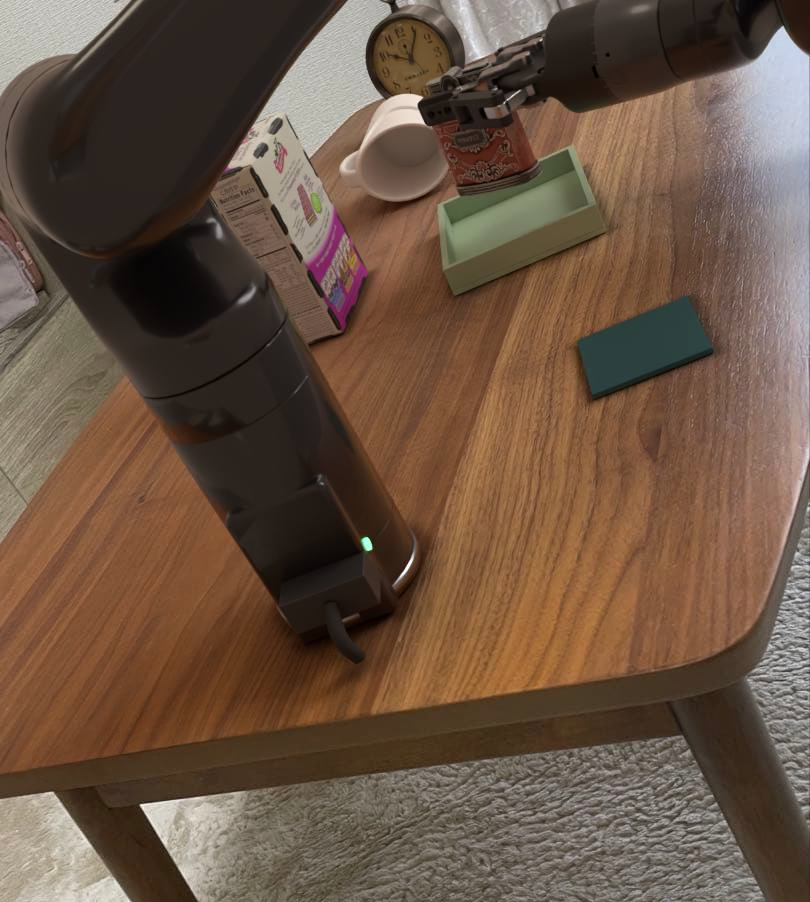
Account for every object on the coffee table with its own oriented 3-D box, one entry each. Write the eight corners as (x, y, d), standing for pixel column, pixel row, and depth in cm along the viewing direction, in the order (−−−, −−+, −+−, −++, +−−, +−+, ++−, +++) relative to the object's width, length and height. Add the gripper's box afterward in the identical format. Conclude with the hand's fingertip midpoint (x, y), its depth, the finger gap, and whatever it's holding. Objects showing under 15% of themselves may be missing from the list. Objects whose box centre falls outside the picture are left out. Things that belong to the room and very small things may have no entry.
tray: (606, 231, 99) (596, 203, 98) (454, 296, 102) (442, 270, 101) (582, 169, 111) (572, 144, 110) (447, 228, 114) (436, 204, 113)
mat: (714, 352, 78) (712, 347, 78) (593, 399, 80) (591, 394, 80) (688, 300, 85) (687, 295, 84) (578, 344, 86) (576, 340, 86)
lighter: (452, 201, 106) (403, 90, 100) (470, 181, 108) (423, 72, 102) (532, 184, 101) (485, 67, 95) (549, 164, 102) (504, 48, 97)
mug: (464, 148, 130) (434, 77, 126) (465, 180, 122) (432, 105, 118) (361, 193, 133) (328, 125, 129) (355, 227, 126) (320, 155, 121)
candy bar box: (323, 289, 116) (238, 128, 107) (370, 273, 114) (287, 107, 105) (293, 351, 107) (198, 182, 99) (344, 335, 105) (251, 160, 97)
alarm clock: (392, 132, 146) (330, -2, 138) (408, 112, 150) (349, -20, 141) (473, 106, 140) (414, -36, 132) (487, 86, 144) (431, -54, 135)
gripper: (638, -40, 93) (452, 22, 104) (569, 38, 85) (374, 97, 96) (669, 55, 97) (486, 105, 108) (605, 139, 89) (413, 185, 99)
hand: (434, 101), depth 102 cm, fingers closed on lighter, 3 cm apart
